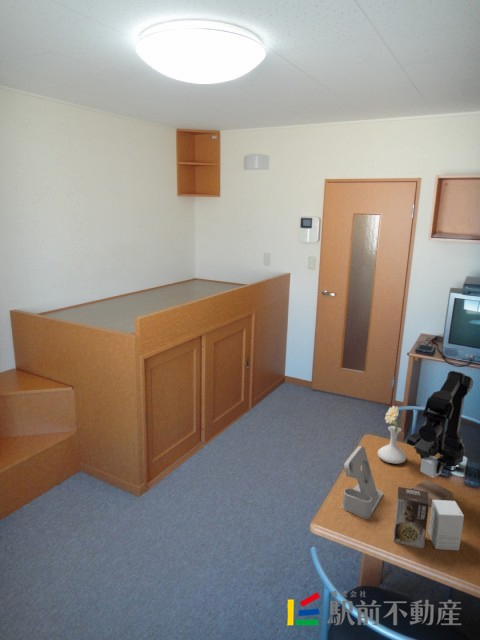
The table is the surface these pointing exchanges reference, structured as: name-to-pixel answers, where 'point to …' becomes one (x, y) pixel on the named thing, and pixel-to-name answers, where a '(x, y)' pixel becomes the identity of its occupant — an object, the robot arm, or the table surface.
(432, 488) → the brown block
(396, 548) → the table surface
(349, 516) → the table surface
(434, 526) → the supplement box
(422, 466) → the grey-blue block
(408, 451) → the table surface
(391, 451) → the flower in vase
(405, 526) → the coffee box
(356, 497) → the phone holder
